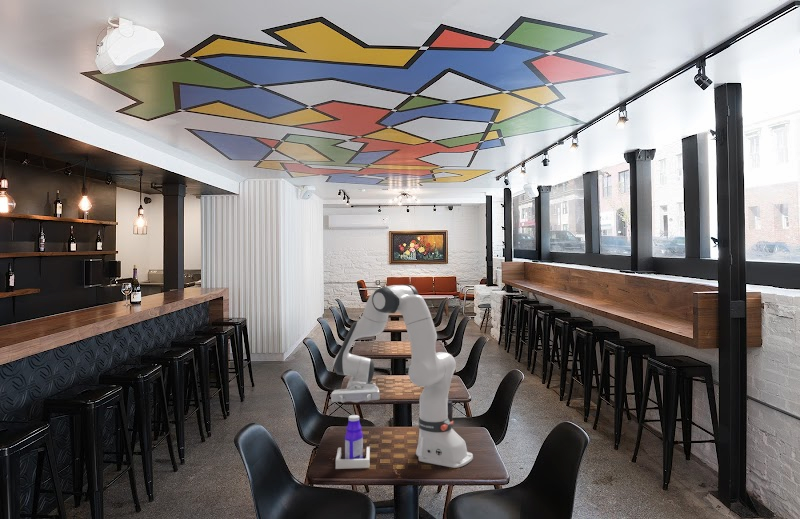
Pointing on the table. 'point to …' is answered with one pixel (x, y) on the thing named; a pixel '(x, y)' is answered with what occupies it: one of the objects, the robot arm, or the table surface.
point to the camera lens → (450, 410)
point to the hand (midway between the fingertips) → (354, 400)
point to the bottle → (354, 439)
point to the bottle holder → (352, 461)
